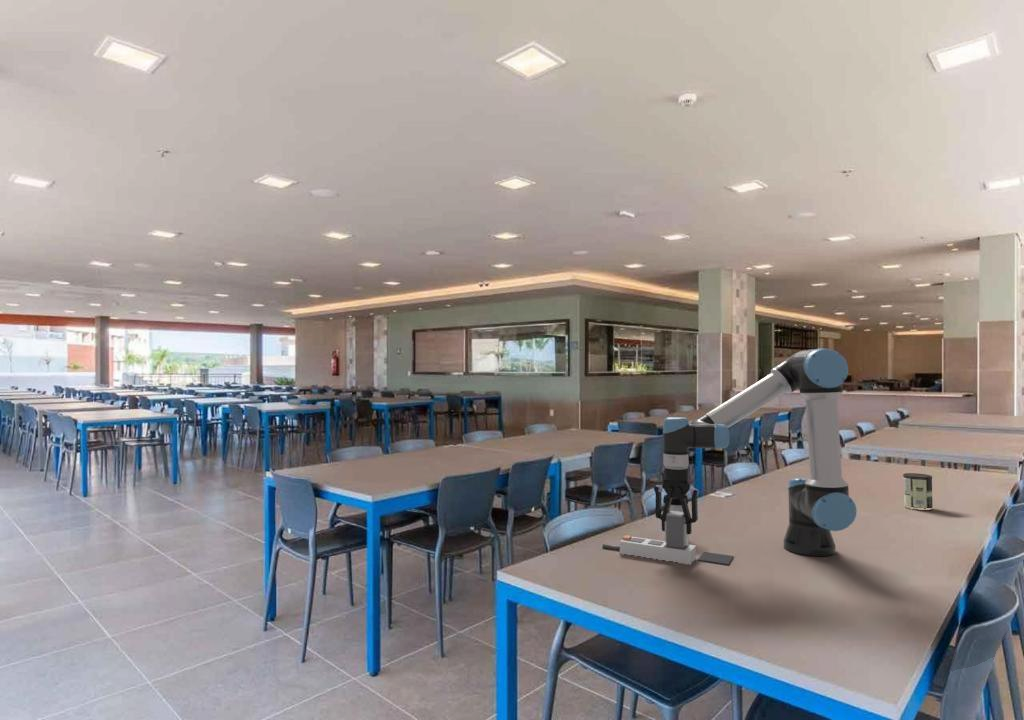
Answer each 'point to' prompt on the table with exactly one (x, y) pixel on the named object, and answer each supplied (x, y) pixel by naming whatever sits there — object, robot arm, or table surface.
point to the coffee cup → (675, 504)
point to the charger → (675, 529)
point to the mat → (716, 558)
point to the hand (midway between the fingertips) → (676, 542)
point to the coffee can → (917, 490)
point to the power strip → (655, 550)
